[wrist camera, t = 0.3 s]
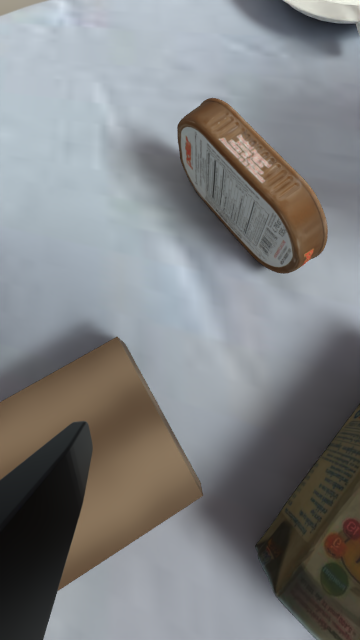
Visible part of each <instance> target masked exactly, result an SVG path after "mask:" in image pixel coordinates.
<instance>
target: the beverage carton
mask: <svg viewBox="0 0 360 640" xmlns="http://www.w3.org/2000/svg"><path fill="white" fill-rule="evenodd" d="M255 548H256V550H257V553H258V559H259V561H260V563H261V565H262V568H263V570H264V571H265V572H266V574H267V576H268V579H269V582H270V584H271V587H272V589H273V591H274V593H275V596H276V597H277V598H278V599H279V600H280V601H281V603H282V604H283V605H284V606H285V607H286V608H287V609H288V610H289V611H290V613H291V614H292V615H293V616H294V617H295V618H296V619H297V620H298V621H299V622H300V623H301V624H302V625H303V626H304V627H305V628H306V629H307V631H308V632H309V633H310V634H311V635H312V636H313V637H314V638H315V639H316V640H360V404H359V406H358V407H357V409H356V410H355V411H354V413H353V414H352V415H351V417H350V418H349V419H348V420H347V422H346V423H345V425H344V426H343V427H342V428H341V430H340V431H339V432H338V434H337V435H336V437H335V438H334V439H333V441H332V442H331V444H330V445H329V446H328V448H327V449H326V450H325V451H324V453H323V454H322V455H321V457H320V458H319V459H318V461H317V462H316V463H315V465H314V466H313V467H312V469H311V470H310V471H309V473H308V474H307V475H306V477H305V478H304V480H303V481H302V482H301V484H300V485H299V486H298V488H297V489H296V490H295V492H294V493H293V494H292V496H291V497H290V498H289V500H288V501H287V503H286V504H285V506H284V507H283V509H282V510H281V512H280V513H279V515H278V516H277V518H276V519H275V521H274V522H273V523H272V524H271V526H270V527H269V529H268V530H267V531H266V533H265V534H264V536H263V537H262V538H261V539H260V541H259V542H258V543H257V544H256V546H255Z"/></svg>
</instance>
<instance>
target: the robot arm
mask: <svg viewBox="0 0 360 640" xmlns="http://www.w3.org/2000/svg"><path fill="white" fill-rule="evenodd" d="M92 451H93V444H92V439H91V434H90V429H89V425H88V423H87V422H86V421H79V422H72V423H71V424H70V425H68V426H67V427H66V428H65V429H63V430H62V431H61V432H60V433H58V434H57V435H56V436H55V437H53V438H52V439H51V440H50V441H48V442H47V443H46V444H45V445H43V446H42V447H41V448H40V449H38V450H37V451H36V452H35V453H33V454H32V455H31V456H30V457H28V458H27V459H26V460H25V461H23V462H22V463H21V464H20V465H18V466H17V467H16V468H15V469H13V470H12V471H11V472H10V473H8V474H7V475H6V476H4V477H3V478H2V479H1V480H0V640H43V638H44V635H45V631H46V628H47V625H48V621H49V618H50V614H51V611H52V608H53V604H54V601H55V597H56V594H57V591H58V587H59V584H60V580H61V577H62V574H63V570H64V567H65V563H66V560H67V557H68V553H69V550H70V546H71V543H72V540H73V536H74V533H75V529H76V526H77V523H78V519H79V516H80V512H81V509H82V505H83V500H84V495H85V490H86V485H87V479H88V474H89V468H90V463H91V457H92Z"/></svg>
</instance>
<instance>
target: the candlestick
mask: <svg viewBox="0 0 360 640" xmlns="http://www.w3.org/2000/svg"><path fill="white" fill-rule="evenodd" d="M283 1H285V2H286V3H287V4H289V5H290V6H291V7H292V8H294V9H295V10H297V11H299V12H301V13H303V14H305V15H307V16H309V17H312V18H315V19H318V20H321V21H327V22H333V23H342V24H356V27H357V30H358V32H359V35H360V0H283Z"/></svg>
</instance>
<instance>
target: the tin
mask: <svg viewBox="0 0 360 640" xmlns="http://www.w3.org/2000/svg"><path fill="white" fill-rule="evenodd" d="M178 144H179V151H180V159H181V163H182V165H183V168H184V170H185V172H186V174H187V176H188V178H189V180H190V182H191V184H192V186H193V187H194V189H195V190H196V192H197V193H198V195H199V196H200V197H201V198H202V200H203V201H204V202H205V203H206V204H207V205H208V207H209V208H210V209H211V210H212V211H213V212H214V213H215V215H216V216H217V217H218V218H219V219H220V220H221V221H222V223H223V224H224V225H225V226H226V227H227V228H228V229H229V231H230V232H231V233H232V234H233V235H234V236H235V237H236V238H237V240H238V241H239V242H240V243H241V244H242V245H243V246H244V247H245V248H246V250H247V251H248V252H249V253H250V254H251V255H252V256H253V257H254V258H255V259H256V260H257V261H258V262H259V263H261V264H262V265H263V266H265V267H266V268H268V269H270V270H272V271H274V272H277V273H290V272H293V271H295V270H297V269H298V268H300V267H301V266H303V265H304V264H305V263H306V262H308V261H309V260H310V259H313V258H315V257H317V256H318V255H319V254H320V253H321V252H322V251H323V249H324V247H325V245H326V242H327V232H328V230H327V221H326V217H325V214H324V211H323V208H322V206H321V204H320V202H319V200H318V198H317V196H316V194H315V193H314V191H313V190H312V188H311V187H310V186H309V185H308V183H307V182H306V181H305V180H304V179H303V178H302V177H301V176H300V175H299V174H298V173H297V172H296V171H295V170H294V169H293V168H292V167H291V166H290V165H289V164H288V163H287V162H286V161H285V160H284V159H283V158H282V157H281V156H280V155H279V154H278V153H277V152H276V151H275V150H274V149H273V148H272V147H271V146H270V145H269V144H268V143H267V142H266V141H265V140H264V139H263V138H262V137H261V136H260V135H259V134H258V133H257V132H256V131H255V130H254V129H253V128H252V127H251V126H250V125H249V124H248V123H247V122H246V121H245V120H244V119H243V118H242V117H241V116H240V115H239V114H238V113H237V112H236V111H235V110H234V109H233V108H232V107H231V106H230V105H229V104H227V103H226V102H224V101H222V100H219V99H216V98H210V99H207V100H205V101H204V102H203V103H202V104H201V105H200V106H199V107H197V108H196V109H194V110H193V111H192V112H190V113H189V114H187V115H186V116H185V117H184V118H183V119H182V120H181V121H180V122H179V124H178Z"/></svg>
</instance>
